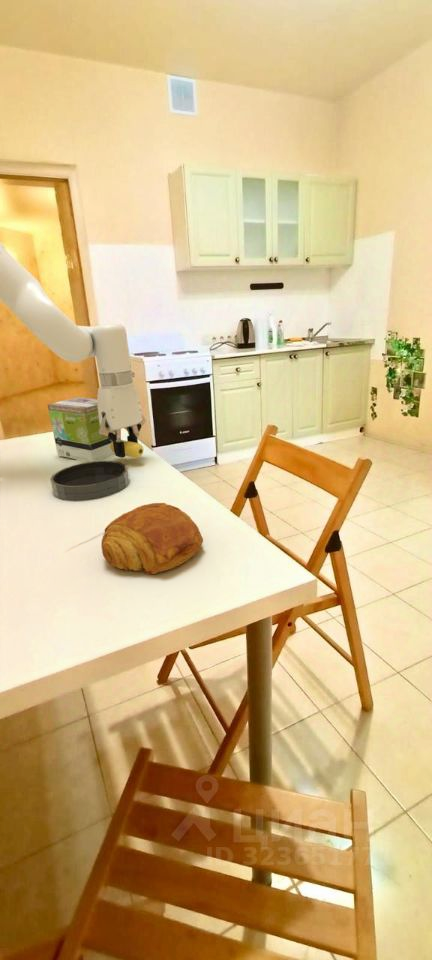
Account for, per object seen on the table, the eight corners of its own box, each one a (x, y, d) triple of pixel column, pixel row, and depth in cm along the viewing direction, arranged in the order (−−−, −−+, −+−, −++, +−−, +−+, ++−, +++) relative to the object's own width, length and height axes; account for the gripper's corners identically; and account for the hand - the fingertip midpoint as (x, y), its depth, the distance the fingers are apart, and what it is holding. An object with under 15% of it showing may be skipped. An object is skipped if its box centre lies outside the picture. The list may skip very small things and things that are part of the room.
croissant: (94, 565, 71) (78, 522, 68) (172, 520, 79) (161, 480, 76) (142, 602, 60) (126, 553, 57) (226, 546, 69) (216, 500, 65)
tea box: (56, 457, 122) (45, 403, 117) (85, 447, 130) (76, 396, 124) (93, 464, 114) (83, 406, 109) (122, 453, 121) (114, 399, 116)
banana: (108, 454, 113) (106, 440, 112) (119, 450, 116) (117, 437, 115) (137, 460, 107) (135, 446, 105) (148, 456, 109) (146, 442, 108)
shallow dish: (38, 492, 97) (35, 477, 96) (100, 470, 109) (98, 457, 107) (81, 509, 87) (78, 492, 86) (145, 483, 99) (143, 468, 97)
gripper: (133, 374, 113) (142, 443, 119) (76, 384, 101) (90, 461, 108) (153, 374, 108) (162, 447, 115) (96, 386, 97) (109, 466, 103)
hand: (127, 453), depth 111 cm, fingers closed on banana, 3 cm apart
